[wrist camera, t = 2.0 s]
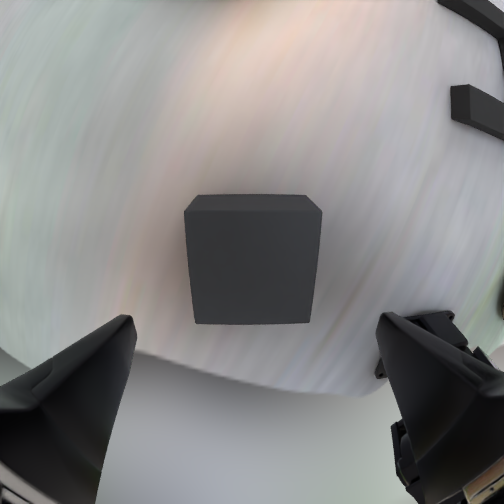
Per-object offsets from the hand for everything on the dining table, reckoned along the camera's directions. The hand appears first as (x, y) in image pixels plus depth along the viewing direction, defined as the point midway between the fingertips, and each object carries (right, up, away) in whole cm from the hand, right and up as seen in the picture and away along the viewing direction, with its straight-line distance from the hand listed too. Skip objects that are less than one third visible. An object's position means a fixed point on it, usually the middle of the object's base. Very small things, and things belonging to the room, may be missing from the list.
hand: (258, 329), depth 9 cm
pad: (0, +3, +7) cm, 8 cm away
